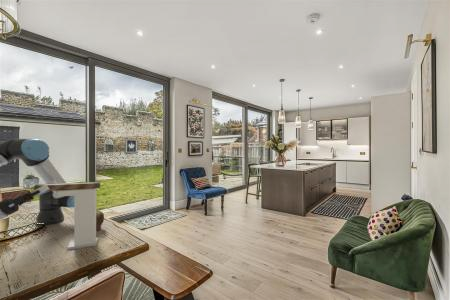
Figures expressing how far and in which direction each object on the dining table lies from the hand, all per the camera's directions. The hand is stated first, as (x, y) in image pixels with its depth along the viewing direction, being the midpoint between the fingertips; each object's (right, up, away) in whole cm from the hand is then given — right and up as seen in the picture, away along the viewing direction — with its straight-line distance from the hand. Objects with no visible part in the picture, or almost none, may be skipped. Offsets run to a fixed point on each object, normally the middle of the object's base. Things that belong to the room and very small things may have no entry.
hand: (51, 184), depth 113 cm
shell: (+6, -33, +26) cm, 42 cm away
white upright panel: (+9, -33, +6) cm, 35 cm away
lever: (+7, -3, +3) cm, 9 cm away
